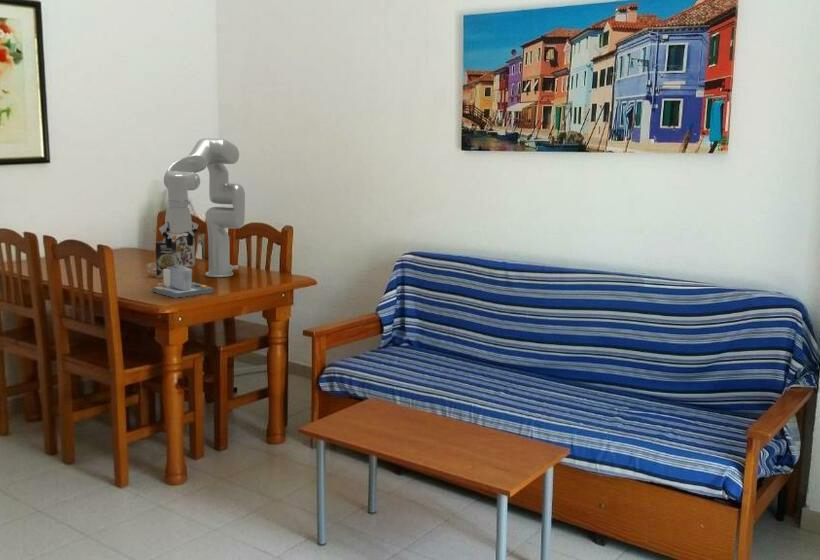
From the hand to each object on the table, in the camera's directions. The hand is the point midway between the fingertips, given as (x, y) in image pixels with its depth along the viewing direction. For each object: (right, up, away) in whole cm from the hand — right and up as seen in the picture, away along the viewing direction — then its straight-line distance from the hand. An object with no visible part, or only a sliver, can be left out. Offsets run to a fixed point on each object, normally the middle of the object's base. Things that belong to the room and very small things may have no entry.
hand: (179, 246), depth 328 cm
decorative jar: (-19, -7, +67) cm, 70 cm away
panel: (-1, -19, +7) cm, 20 cm away
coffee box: (-17, -12, +40) cm, 45 cm away
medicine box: (-1, -17, +3) cm, 17 cm away
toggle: (-6, -16, +8) cm, 19 cm away
